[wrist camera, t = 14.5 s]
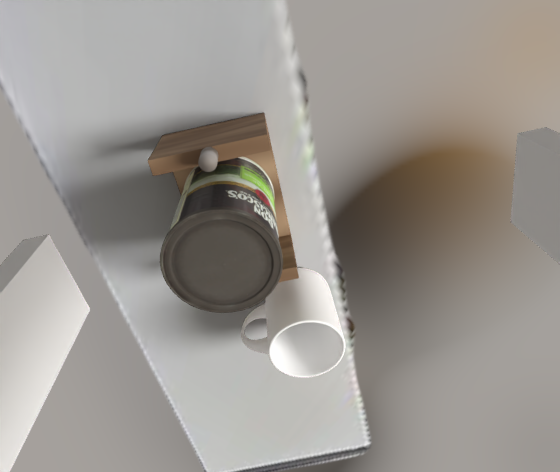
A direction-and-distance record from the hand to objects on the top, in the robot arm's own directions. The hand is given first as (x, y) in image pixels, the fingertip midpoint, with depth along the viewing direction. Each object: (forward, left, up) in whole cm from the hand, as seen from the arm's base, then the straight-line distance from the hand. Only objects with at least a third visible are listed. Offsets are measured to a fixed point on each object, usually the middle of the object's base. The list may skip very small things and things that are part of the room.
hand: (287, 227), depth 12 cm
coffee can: (+13, -6, -34) cm, 37 cm away
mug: (+29, -3, -35) cm, 45 cm away
